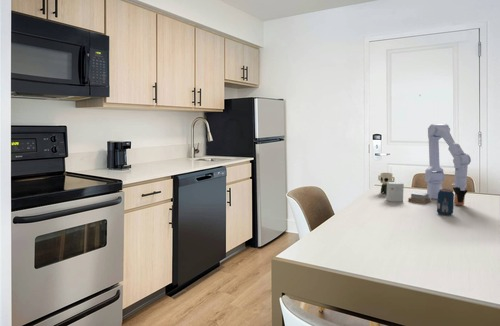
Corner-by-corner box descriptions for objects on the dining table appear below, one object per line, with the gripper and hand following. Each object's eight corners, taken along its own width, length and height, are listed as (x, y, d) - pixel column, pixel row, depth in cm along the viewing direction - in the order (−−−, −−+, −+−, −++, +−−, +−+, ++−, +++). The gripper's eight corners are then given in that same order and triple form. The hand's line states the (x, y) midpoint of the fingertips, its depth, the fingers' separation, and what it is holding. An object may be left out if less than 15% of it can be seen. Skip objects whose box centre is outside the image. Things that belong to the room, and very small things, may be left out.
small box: (400, 199, 209) (400, 182, 207) (403, 201, 203) (404, 183, 202) (386, 199, 209) (386, 181, 208) (388, 201, 204) (389, 183, 203)
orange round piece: (455, 202, 197) (456, 193, 197) (465, 203, 194) (465, 194, 193) (452, 204, 194) (453, 195, 193) (462, 205, 191) (463, 196, 190)
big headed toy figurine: (374, 193, 229) (375, 173, 228) (380, 191, 234) (381, 172, 232) (390, 195, 221) (391, 174, 219) (396, 194, 225) (397, 173, 224)
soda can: (447, 212, 178) (448, 189, 177) (456, 216, 171) (457, 191, 170) (433, 212, 178) (435, 189, 176) (441, 216, 171) (443, 191, 170)
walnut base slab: (414, 199, 210) (414, 195, 210) (430, 202, 204) (430, 197, 204) (408, 202, 204) (408, 198, 204) (424, 204, 198) (424, 200, 197)
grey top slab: (415, 196, 209) (416, 192, 208) (428, 198, 204) (428, 193, 203) (411, 198, 204) (411, 193, 203) (423, 199, 199) (424, 195, 198)
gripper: (450, 174, 200) (448, 198, 202) (454, 178, 187) (453, 203, 188) (464, 175, 198) (462, 199, 200) (470, 179, 185) (468, 204, 186)
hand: (459, 201), depth 194 cm, fingers closed on orange round piece, 5 cm apart
